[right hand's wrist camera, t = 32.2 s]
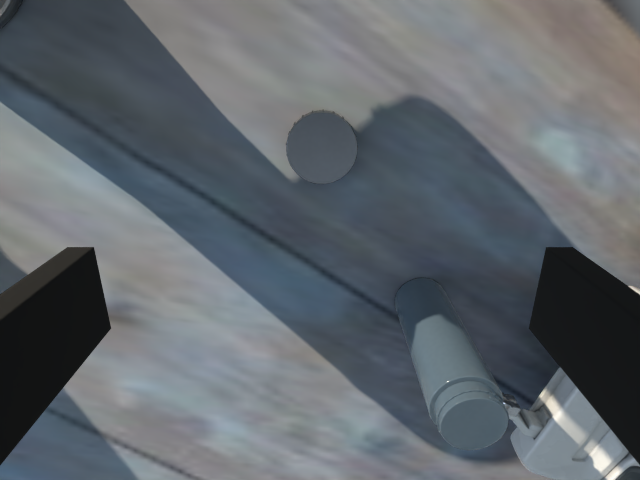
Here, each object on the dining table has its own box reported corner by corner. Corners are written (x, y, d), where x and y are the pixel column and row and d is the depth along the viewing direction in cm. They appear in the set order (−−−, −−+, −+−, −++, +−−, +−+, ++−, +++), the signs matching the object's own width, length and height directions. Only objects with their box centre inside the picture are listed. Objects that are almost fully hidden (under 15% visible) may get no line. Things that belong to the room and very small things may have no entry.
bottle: (427, 330, 46) (483, 464, 30) (384, 309, 45) (419, 437, 29) (455, 291, 44) (530, 412, 28) (412, 269, 43) (464, 382, 27)
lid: (356, 107, 37) (358, 110, 35) (356, 178, 39) (358, 183, 38) (285, 110, 37) (283, 113, 35) (289, 180, 40) (288, 186, 38)
